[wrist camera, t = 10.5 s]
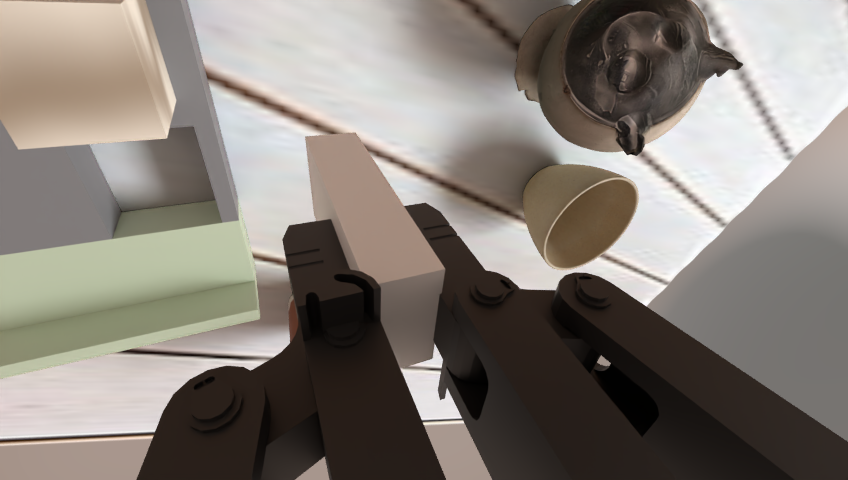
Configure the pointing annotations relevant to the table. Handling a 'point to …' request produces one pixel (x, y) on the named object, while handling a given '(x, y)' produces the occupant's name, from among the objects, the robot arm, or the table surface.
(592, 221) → the flower pot
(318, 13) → the table surface
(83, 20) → the cream block
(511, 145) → the table surface
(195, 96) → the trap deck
